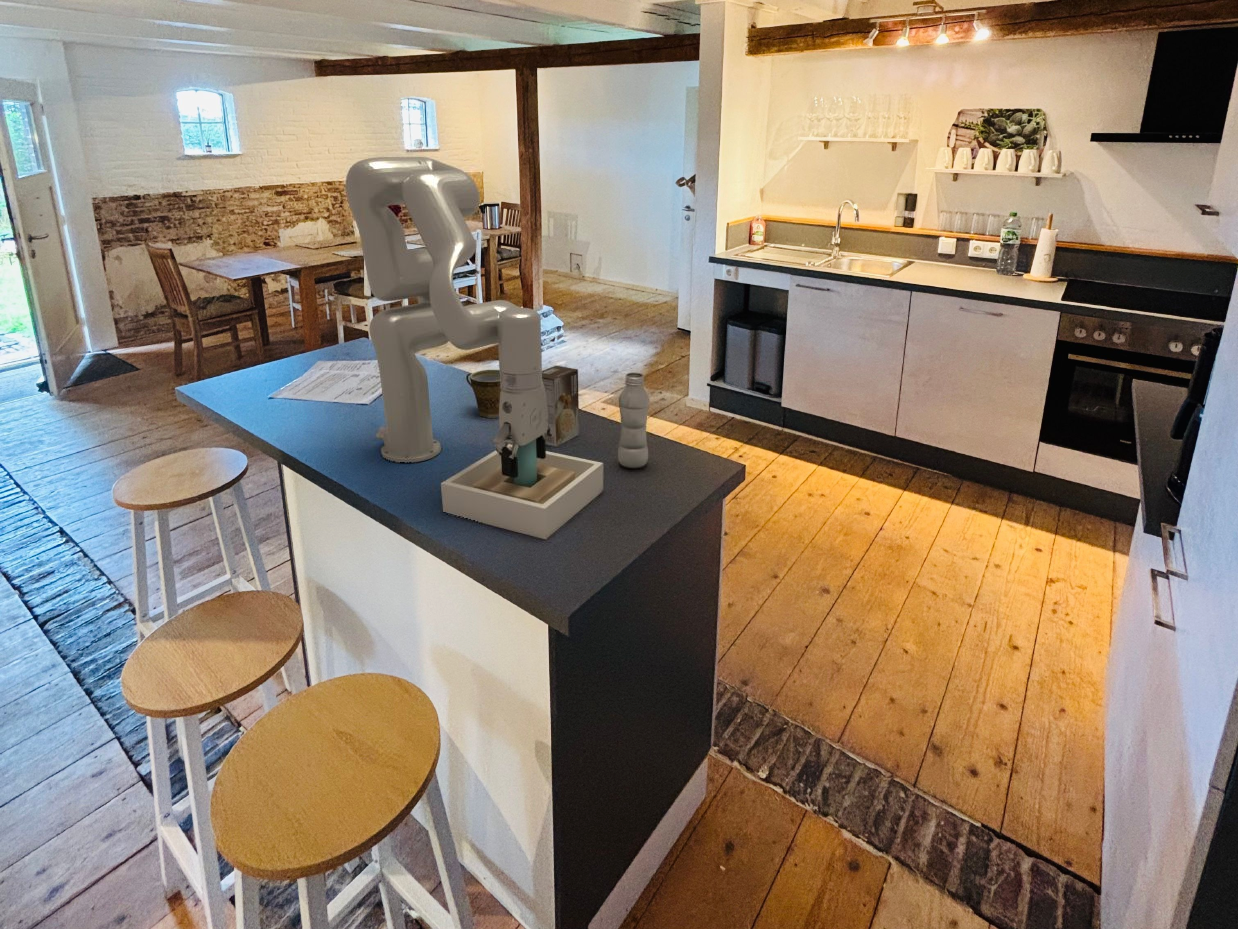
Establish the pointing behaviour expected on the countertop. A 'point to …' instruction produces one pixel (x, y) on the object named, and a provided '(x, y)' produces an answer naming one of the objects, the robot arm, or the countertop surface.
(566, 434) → the coffee box
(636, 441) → the plastic bottle
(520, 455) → the peg
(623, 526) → the countertop surface
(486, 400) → the ceramic cup
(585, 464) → the open box
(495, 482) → the bore plate
